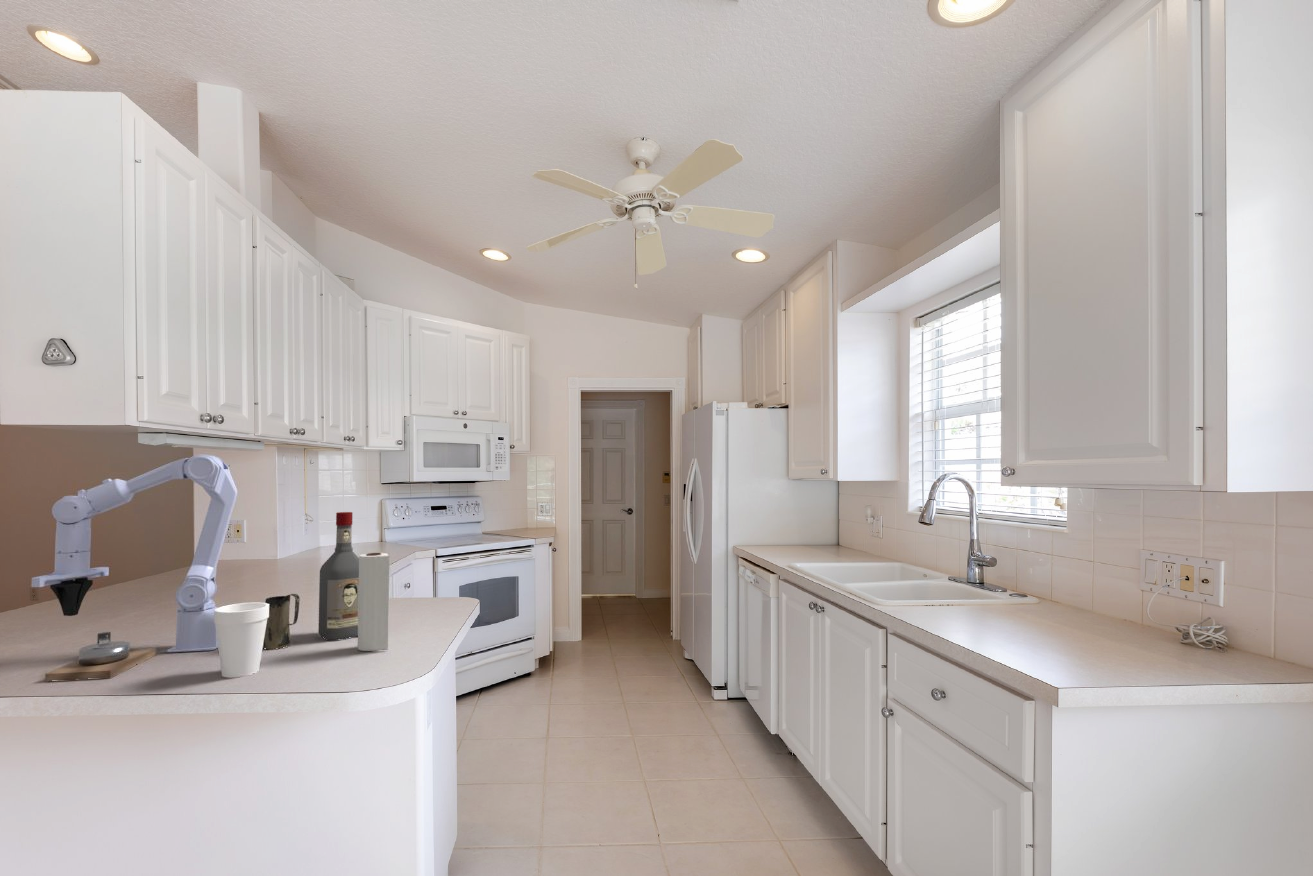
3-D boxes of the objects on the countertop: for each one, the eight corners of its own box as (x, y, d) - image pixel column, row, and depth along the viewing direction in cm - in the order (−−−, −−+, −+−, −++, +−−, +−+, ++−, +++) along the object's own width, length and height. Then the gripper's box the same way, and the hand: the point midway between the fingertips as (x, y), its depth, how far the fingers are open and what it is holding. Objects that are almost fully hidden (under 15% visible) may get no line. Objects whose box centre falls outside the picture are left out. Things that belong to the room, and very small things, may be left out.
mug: (256, 649, 148) (257, 595, 149) (274, 642, 154) (275, 591, 154) (288, 650, 147) (289, 597, 147) (304, 644, 152) (306, 592, 153)
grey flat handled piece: (130, 659, 134) (130, 643, 134) (78, 667, 129) (78, 650, 129) (127, 644, 146) (127, 629, 146) (79, 650, 140) (79, 635, 141)
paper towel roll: (356, 646, 150) (358, 553, 151) (385, 643, 153) (386, 551, 154) (358, 654, 144) (360, 556, 145) (388, 651, 147) (389, 555, 148)
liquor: (315, 635, 160) (318, 512, 161) (353, 628, 167) (356, 510, 168) (329, 642, 154) (331, 514, 155) (368, 635, 160) (370, 512, 162)
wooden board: (155, 655, 144) (156, 647, 144) (110, 678, 128) (110, 669, 128) (98, 658, 141) (98, 650, 141) (44, 682, 126) (45, 673, 126)
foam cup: (204, 682, 126) (206, 613, 126) (221, 667, 135) (223, 604, 135) (260, 677, 128) (262, 610, 129) (273, 664, 137) (275, 601, 138)
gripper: (90, 547, 149) (88, 607, 149) (20, 555, 135) (17, 622, 134) (117, 547, 148) (115, 608, 147) (49, 556, 134) (46, 623, 133)
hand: (70, 615), depth 141 cm, fingers closed
